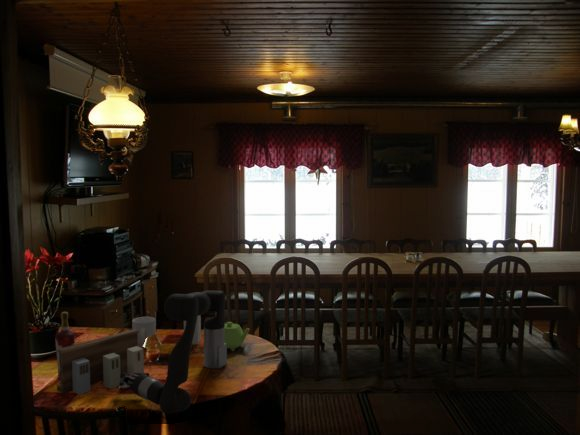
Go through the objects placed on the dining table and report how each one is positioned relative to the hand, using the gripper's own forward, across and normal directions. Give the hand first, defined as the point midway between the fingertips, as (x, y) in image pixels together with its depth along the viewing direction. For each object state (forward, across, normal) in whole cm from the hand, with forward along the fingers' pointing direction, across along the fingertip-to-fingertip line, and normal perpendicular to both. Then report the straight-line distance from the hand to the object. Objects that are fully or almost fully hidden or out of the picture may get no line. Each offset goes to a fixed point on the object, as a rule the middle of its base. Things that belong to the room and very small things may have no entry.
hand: (122, 375), depth 184 cm
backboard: (+17, 0, +6) cm, 19 cm away
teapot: (+5, -61, +7) cm, 61 cm away
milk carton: (+25, -53, +7) cm, 59 cm away
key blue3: (+12, +10, +6) cm, 17 cm away
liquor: (+27, +9, +7) cm, 29 cm away
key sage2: (+8, 0, +6) cm, 10 cm away
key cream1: (+8, -10, +6) cm, 15 cm away
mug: (+38, -34, +7) cm, 52 cm away
